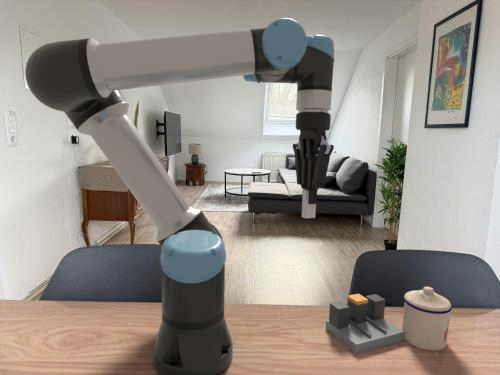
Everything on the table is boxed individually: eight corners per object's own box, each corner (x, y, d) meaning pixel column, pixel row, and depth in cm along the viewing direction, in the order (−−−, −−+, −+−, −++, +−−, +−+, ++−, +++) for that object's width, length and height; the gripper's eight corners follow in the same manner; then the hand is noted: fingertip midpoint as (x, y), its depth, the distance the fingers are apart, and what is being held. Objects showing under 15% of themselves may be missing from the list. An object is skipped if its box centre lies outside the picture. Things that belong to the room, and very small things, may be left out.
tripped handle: (355, 324, 76) (356, 301, 75) (346, 317, 79) (347, 295, 78) (366, 321, 77) (368, 299, 76) (357, 315, 80) (358, 293, 79)
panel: (355, 353, 69) (357, 323, 68) (325, 328, 78) (327, 301, 77) (404, 340, 74) (406, 311, 73) (370, 318, 83) (372, 292, 82)
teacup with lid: (455, 354, 69) (461, 299, 68) (407, 349, 70) (413, 295, 69) (432, 323, 81) (437, 276, 79) (391, 320, 82) (395, 273, 81)
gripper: (346, 111, 71) (339, 222, 75) (311, 114, 83) (306, 210, 86) (315, 109, 68) (310, 225, 72) (284, 113, 80) (280, 212, 83)
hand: (308, 217), depth 79 cm, fingers closed
